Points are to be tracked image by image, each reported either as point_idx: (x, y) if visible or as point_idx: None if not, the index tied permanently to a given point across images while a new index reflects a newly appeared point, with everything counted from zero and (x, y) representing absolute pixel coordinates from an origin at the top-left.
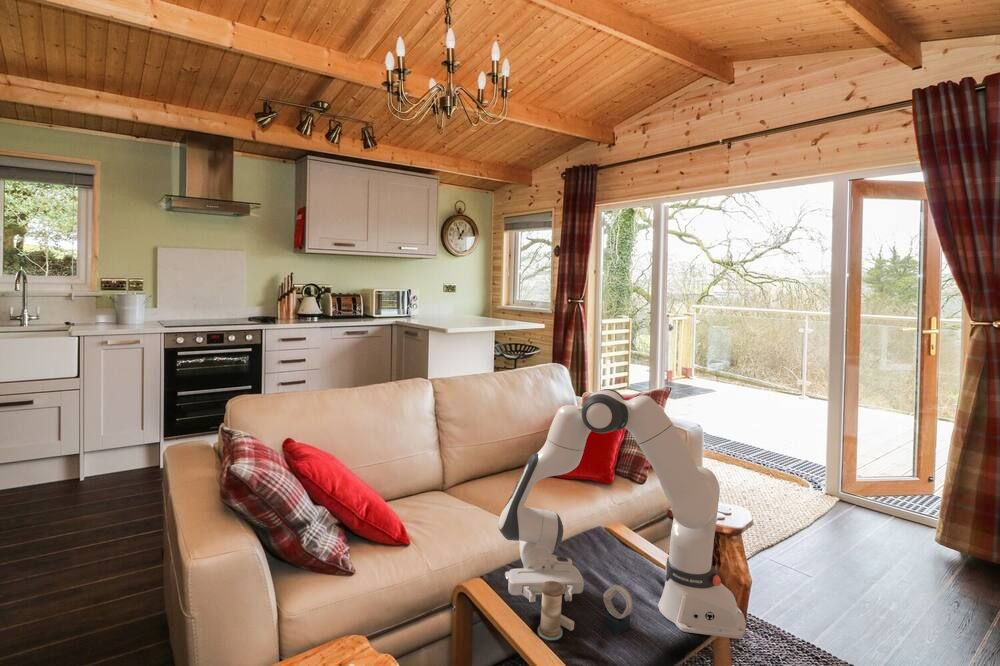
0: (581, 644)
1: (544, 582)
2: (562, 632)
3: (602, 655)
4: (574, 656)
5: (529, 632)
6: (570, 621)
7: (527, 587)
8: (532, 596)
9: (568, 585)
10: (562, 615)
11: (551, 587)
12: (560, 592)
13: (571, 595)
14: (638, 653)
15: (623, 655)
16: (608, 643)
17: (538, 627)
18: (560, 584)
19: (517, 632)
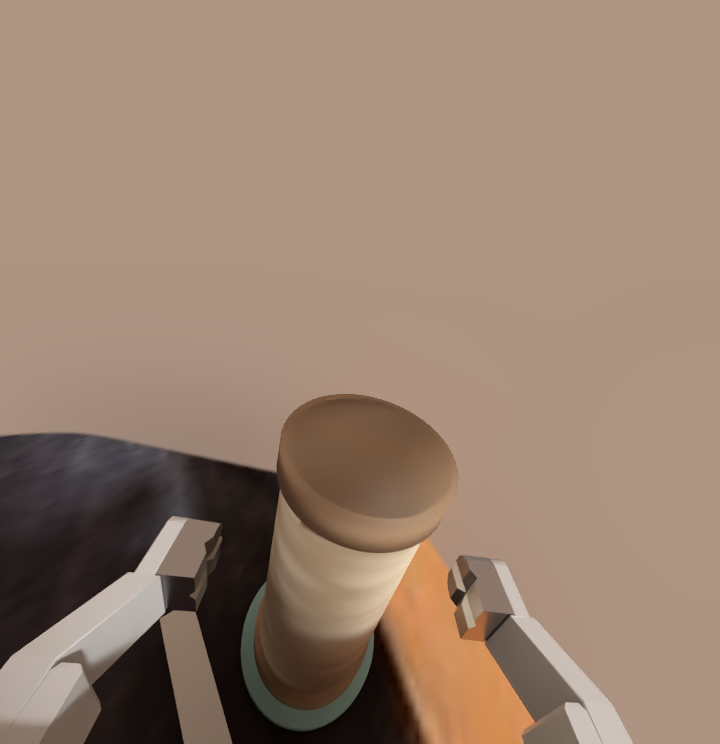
0: (213, 518)
1: (440, 507)
2: (254, 599)
3: (181, 459)
4: (275, 475)
5: (411, 646)
6: (181, 626)
7: (584, 724)
8: (487, 561)
9: (31, 714)
10: (187, 723)
11: (380, 440)
12: (326, 399)
13: (174, 517)
14: (45, 440)
15: (110, 445)
16: (95, 502)
17: (366, 669)
18: (290, 453)
19: (468, 655)
